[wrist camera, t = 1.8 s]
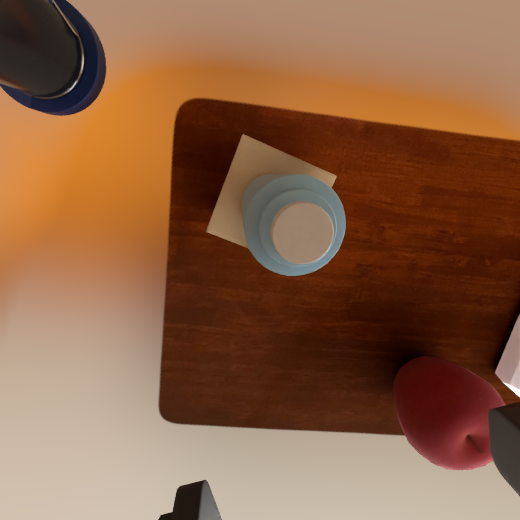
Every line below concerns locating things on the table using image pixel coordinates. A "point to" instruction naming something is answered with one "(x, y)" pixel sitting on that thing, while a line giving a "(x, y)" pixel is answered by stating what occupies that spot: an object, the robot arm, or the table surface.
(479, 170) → the table surface
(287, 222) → the bottle
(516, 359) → the crystal
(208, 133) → the table surface
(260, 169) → the cube
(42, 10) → the robot arm
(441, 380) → the apple
